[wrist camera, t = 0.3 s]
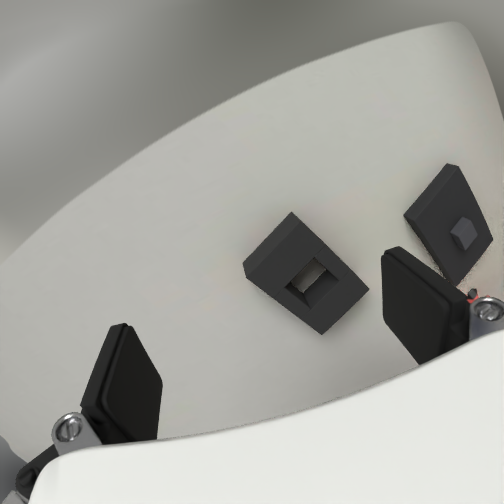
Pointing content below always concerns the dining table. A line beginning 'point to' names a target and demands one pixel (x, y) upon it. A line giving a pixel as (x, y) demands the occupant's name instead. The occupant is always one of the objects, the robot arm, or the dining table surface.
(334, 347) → the dining table surface
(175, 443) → the robot arm
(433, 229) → the base pad
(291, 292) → the black socket block
